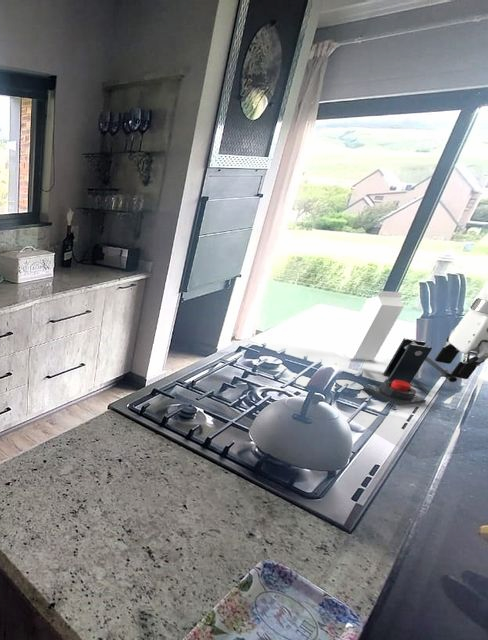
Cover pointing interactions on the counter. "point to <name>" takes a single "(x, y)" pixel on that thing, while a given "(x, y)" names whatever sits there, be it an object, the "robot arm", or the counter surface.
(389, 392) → the button box
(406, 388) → the button
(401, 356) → the bracket
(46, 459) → the counter surface
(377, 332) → the milk
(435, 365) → the lever
